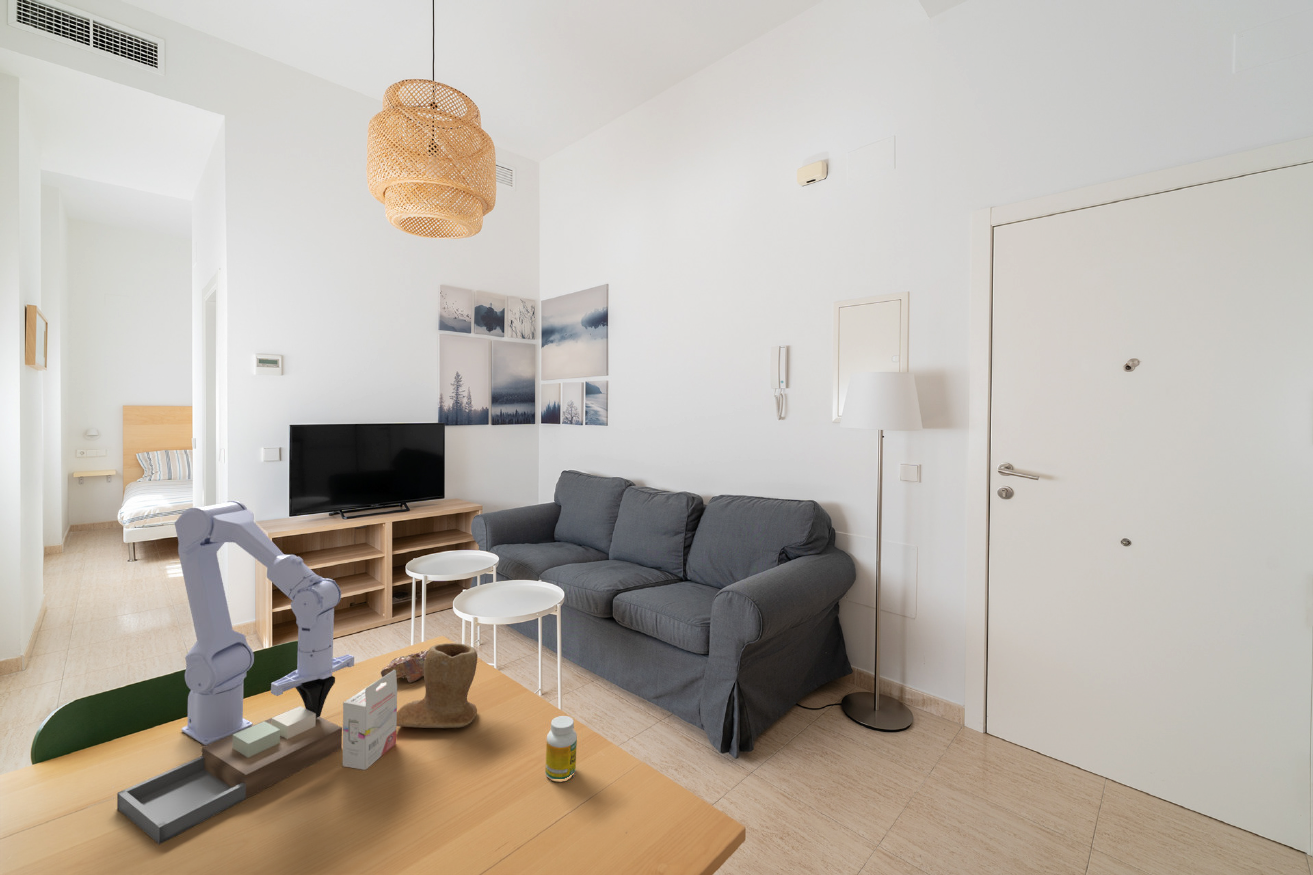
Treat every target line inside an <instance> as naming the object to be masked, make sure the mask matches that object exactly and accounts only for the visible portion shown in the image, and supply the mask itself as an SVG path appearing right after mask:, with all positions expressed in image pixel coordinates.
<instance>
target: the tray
mask: <svg viewBox="0 0 1313 875" xmlns="http://www.w3.org/2000/svg"><path fill="white" fill-rule="evenodd" d="M245 795H246V784H245V783H241V784H239V785H237V786H235V787H233V788H232V787H230V786H229V785H227V784H226V783H224V782H223V781H221V780H220V779H218V778H217V777H215V776H214V775H212V774H211V773H209V772H208V771H206V770H205V769H204V757H203V756H202V755H201V756H198V757H196V758H194V759H191V760H189V761H187V762H185V763H182V764H180V765H178V766H175V767H173V768H171V769H169V770H166V771H164V772H162V773H160V774H157V775H154V776H152V777H151V778H148V779H146V780H143V781H141V782H138V783H136V784H134V785H132V786H130V787H128V788H125V789H123V790H120V791H118V792H117V799H116V800H117V802H116V804H117V806H116V808H117V809H118V810H119V811H120V812H121V813H122V814H123V815H124V816H125V817H127V818H128V819H129V820H130V821H131V822H132V823H134V825H136V826H137V827H138V828H140V829H141V830H142V831H143V832H144V833H145V834H147V835H148V836H149V837H150V838H151V839H153V840H154V841H155V842H156V843H157V844H158V845H161V844H162V843H165V842H166V841H169V840H170V839H172V838H174V837H176V836H178V835H180V834H181V833H184V832H186V831H188V830H189V829H192V828H193V827H195V826H197V825H199V824H201V823H202V822H205V821H206V820H208V819H210V818H213V817H214V816H216V815H218V814H220V813H222V812H223V811H225V810H228V809H229V808H231V807H233V806H235V805H237V804H239V803H241V802H243V801H244V800H246V799H245Z"/></svg>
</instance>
